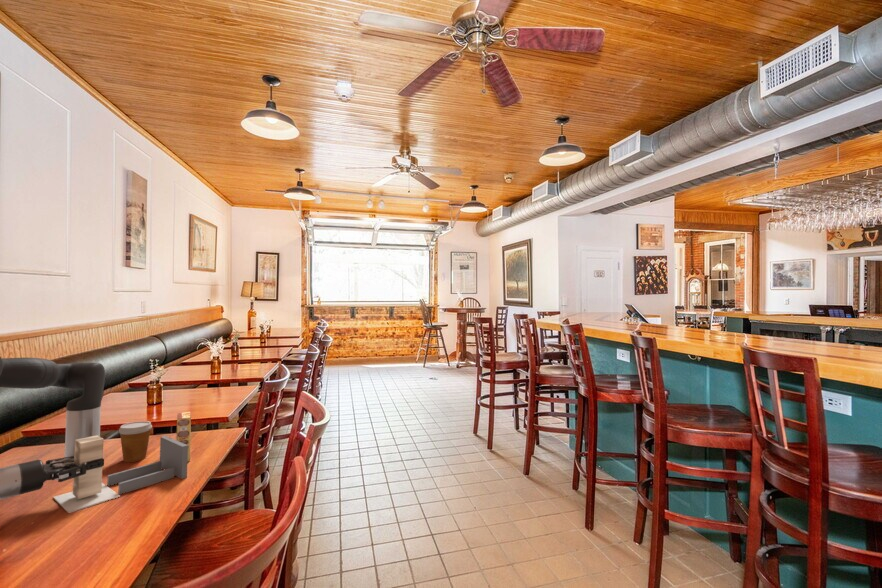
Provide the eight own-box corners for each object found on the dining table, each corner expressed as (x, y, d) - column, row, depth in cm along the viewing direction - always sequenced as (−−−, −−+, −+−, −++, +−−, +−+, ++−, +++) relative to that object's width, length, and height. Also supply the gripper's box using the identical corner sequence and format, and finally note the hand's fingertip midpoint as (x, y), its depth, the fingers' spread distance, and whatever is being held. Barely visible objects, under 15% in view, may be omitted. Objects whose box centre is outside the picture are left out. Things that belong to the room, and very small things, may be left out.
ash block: (72, 494, 113) (75, 439, 114) (95, 487, 117) (97, 435, 118) (78, 499, 110) (80, 443, 111) (101, 492, 115) (103, 438, 115)
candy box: (190, 461, 141) (191, 417, 141) (175, 463, 139) (177, 418, 139) (189, 453, 148) (190, 411, 149) (175, 455, 146) (177, 412, 146)
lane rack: (103, 482, 123) (104, 449, 124) (164, 465, 137) (165, 435, 137) (123, 497, 114) (124, 461, 115) (186, 477, 128) (187, 445, 128)
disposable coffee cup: (156, 457, 144) (157, 423, 144) (124, 466, 136) (125, 430, 136) (144, 452, 149) (145, 419, 149) (112, 460, 141) (113, 425, 141)
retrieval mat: (53, 498, 113) (53, 496, 113) (102, 484, 122) (102, 482, 122) (68, 513, 105) (68, 511, 105) (120, 497, 114) (120, 495, 114)
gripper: (23, 471, 98) (109, 451, 112) (9, 458, 107) (92, 441, 121) (21, 503, 98) (108, 479, 112) (8, 487, 106) (91, 467, 120)
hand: (99, 459), depth 116 cm, fingers closed on ash block, 5 cm apart
